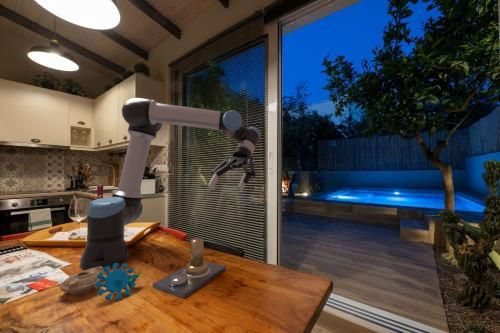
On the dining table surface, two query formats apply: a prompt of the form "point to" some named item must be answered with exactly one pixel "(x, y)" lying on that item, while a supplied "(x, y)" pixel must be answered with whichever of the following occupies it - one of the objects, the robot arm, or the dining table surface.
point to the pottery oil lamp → (82, 281)
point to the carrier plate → (187, 280)
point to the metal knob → (196, 259)
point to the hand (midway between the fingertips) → (224, 188)
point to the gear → (116, 281)
